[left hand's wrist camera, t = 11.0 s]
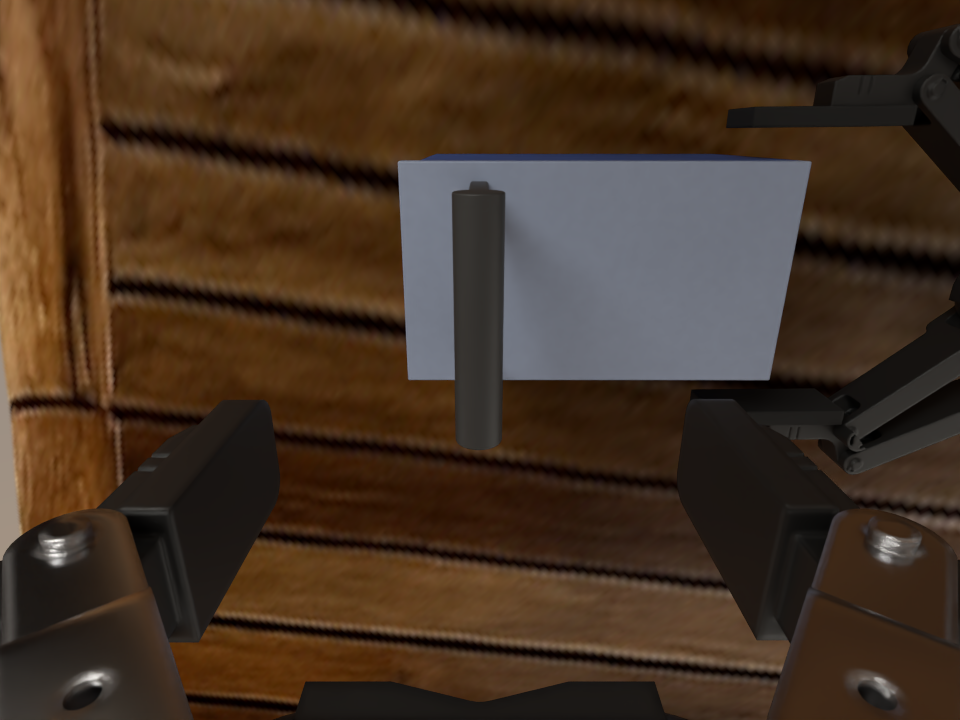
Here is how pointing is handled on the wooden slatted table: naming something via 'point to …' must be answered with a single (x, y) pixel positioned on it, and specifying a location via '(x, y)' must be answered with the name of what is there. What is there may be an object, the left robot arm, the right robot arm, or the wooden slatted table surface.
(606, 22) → the wooden slatted table surface
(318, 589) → the wooden slatted table surface
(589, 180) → the grey lid
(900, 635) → the left robot arm
